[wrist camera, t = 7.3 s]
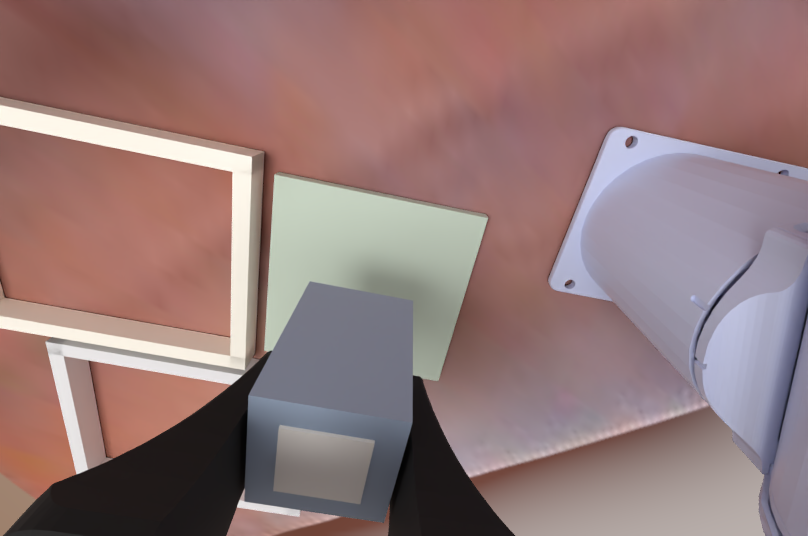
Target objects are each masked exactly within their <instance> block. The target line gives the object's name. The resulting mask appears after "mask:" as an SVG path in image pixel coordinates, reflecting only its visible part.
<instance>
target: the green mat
mask: <svg viewBox="0 0 808 536" xmlns="http://www.w3.org/2000/svg"><path fill="white" fill-rule="evenodd" d="M487 220H488V217H487V215H486V214H482V213H477V212H472V211H467V210H462V209H458V208H453V207H448V206H443V205H438V204H433V203H428V202H423V201H418V200H413V199H409V198H404V197H399V196H394V195H389V194H384V193H379V192H374V191H369V190H365V189H360V188H355V187H350V186H345V185H340V184H335V183H330V182H325V181H321V180H316V179H311V178H306V177H301V176H296V175H291V174H286V173H281V172H278V173H276V174H275V175H274V191H273V208H272V225H271V243H270V260H269V277H268V294H267V311H266V328H265V346H264V351H271V350H272V351H273V349H274V347H275V345H276V343H277V341H278V339H279V337H280V336H281V334H282V332H283V330H284V328H285V326H286V324H287V323H288V321H289V319H290V317H291V315H292V313H293V311H294V310H295V308H296V306H297V304H298V302H299V300H300V298H301V297H302V295H303V293H304V291H305V289H306V287H307V285H308V283H309V282H310V281H311V282H317V283H322V284H327V285H333V286H338V287H343V288H349V289H354V290H359V291H365V292H370V293H375V294H381V295H386V296H391V297H397V298H402V299H407V300H413V375H414V376H420V377H421V378H422V379H428V380H434V381H438V380H439V377H440V374H441V370H442V367H443V364H444V361H445V357H446V354H447V351H448V347H449V344H450V341H451V338H452V334H453V331H454V328H455V325H456V321H457V318H458V315H459V312H460V308H461V305H462V302H463V298H464V295H465V292H466V289H467V285H468V282H469V279H470V276H471V272H472V269H473V266H474V263H475V259H476V256H477V253H478V250H479V246H480V243H481V240H482V236H483V233H484V230H485V227H486V223H487Z"/></svg>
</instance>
